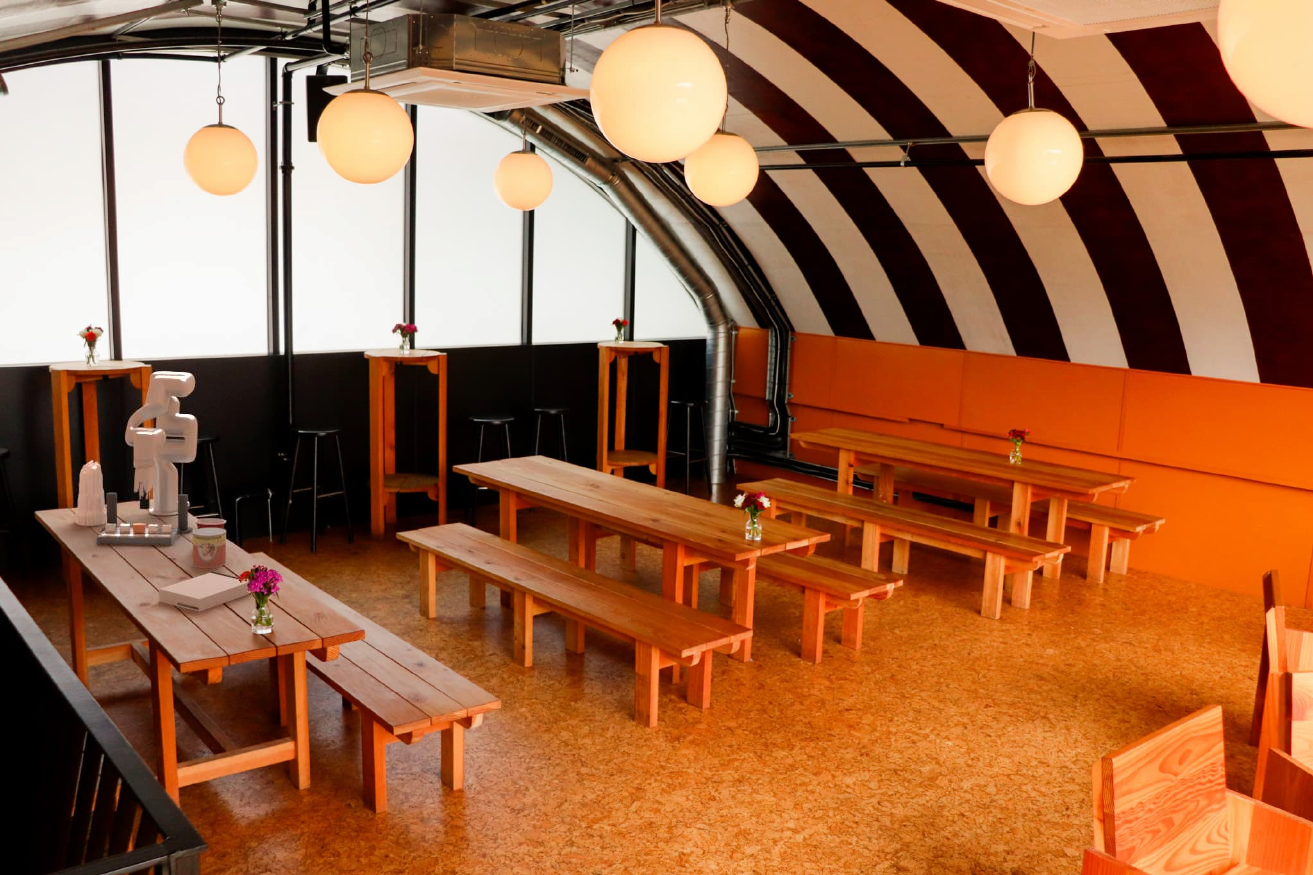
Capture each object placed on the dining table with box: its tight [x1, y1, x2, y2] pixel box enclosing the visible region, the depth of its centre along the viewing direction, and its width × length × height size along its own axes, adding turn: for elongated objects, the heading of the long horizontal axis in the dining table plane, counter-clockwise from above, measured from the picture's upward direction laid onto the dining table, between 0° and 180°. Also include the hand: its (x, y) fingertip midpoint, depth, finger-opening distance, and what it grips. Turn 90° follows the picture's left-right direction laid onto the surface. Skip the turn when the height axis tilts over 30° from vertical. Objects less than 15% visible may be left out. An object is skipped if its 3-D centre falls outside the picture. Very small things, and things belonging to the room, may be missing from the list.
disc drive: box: [158, 571, 250, 613], centre depth 345 cm, size 18×22×5 cm
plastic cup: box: [194, 517, 227, 529], centre depth 394 cm, size 11×11×12 cm
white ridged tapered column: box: [75, 459, 107, 527], centre depth 417 cm, size 11×11×25 cm
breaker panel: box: [96, 523, 181, 546], centre depth 401 cm, size 14×26×6 cm, turn 103°
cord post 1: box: [101, 492, 120, 533], centre depth 410 cm, size 7×7×15 cm
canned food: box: [192, 528, 227, 569], centre depth 379 cm, size 11×11×12 cm
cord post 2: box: [177, 493, 193, 535], centre depth 416 cm, size 7×7×15 cm
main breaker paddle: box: [132, 522, 147, 532], centre depth 401 cm, size 2×4×3 cm, turn 103°
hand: (144, 508), depth 408 cm, fingers closed
